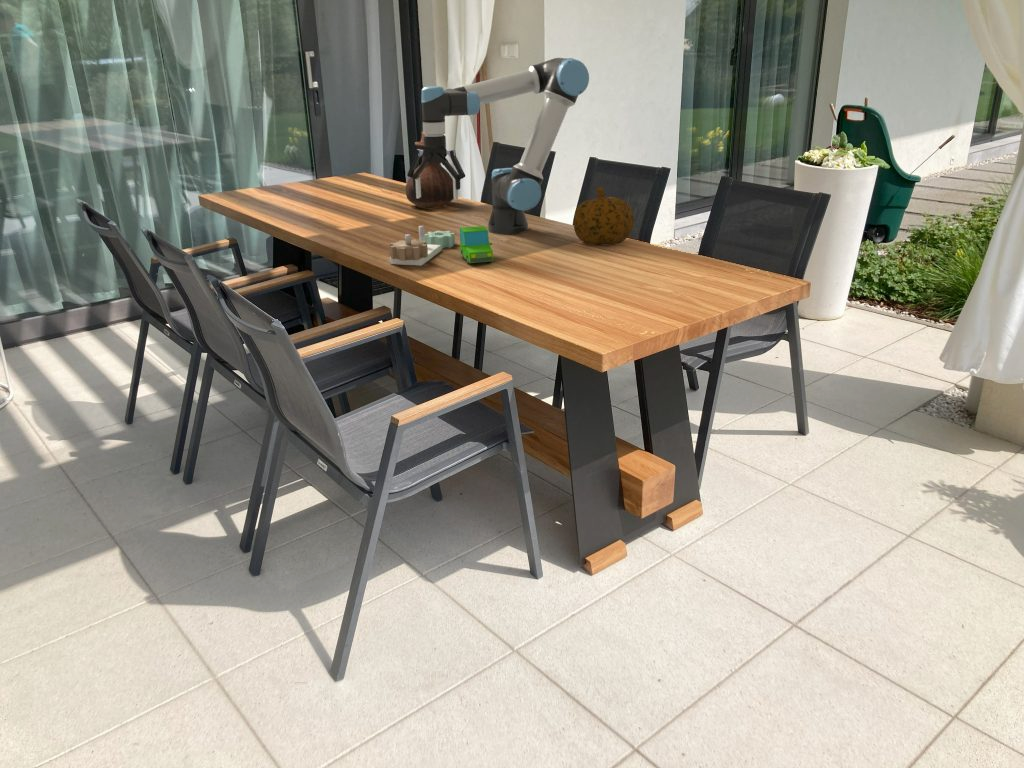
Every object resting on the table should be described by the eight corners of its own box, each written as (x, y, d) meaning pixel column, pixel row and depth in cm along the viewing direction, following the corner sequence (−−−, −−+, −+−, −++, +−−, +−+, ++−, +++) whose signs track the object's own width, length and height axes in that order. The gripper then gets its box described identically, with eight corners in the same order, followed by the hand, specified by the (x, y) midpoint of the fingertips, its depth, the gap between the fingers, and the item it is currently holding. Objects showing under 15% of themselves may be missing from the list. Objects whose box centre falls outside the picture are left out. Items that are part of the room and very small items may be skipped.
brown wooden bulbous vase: (466, 204, 364) (464, 132, 352) (437, 212, 347) (433, 138, 336) (427, 199, 375) (423, 130, 363) (396, 207, 358) (391, 135, 346)
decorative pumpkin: (636, 247, 286) (633, 188, 279) (575, 252, 288) (571, 193, 281) (632, 236, 305) (630, 180, 298) (575, 240, 307) (571, 185, 300)
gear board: (443, 250, 288) (441, 224, 285) (420, 267, 268) (419, 240, 264) (409, 249, 291) (407, 223, 287) (384, 265, 271) (382, 238, 267)
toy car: (466, 267, 268) (465, 236, 264) (457, 257, 280) (456, 227, 276) (497, 264, 271) (496, 234, 267) (487, 255, 283) (486, 225, 279)
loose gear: (458, 242, 299) (457, 231, 298) (449, 249, 290) (448, 238, 288) (430, 241, 302) (430, 230, 300) (421, 247, 292) (420, 236, 291)
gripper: (473, 134, 281) (474, 197, 290) (403, 133, 287) (407, 195, 295) (466, 137, 275) (468, 201, 283) (395, 135, 280) (399, 199, 289)
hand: (437, 198), depth 289 cm, fingers open, 13 cm apart
